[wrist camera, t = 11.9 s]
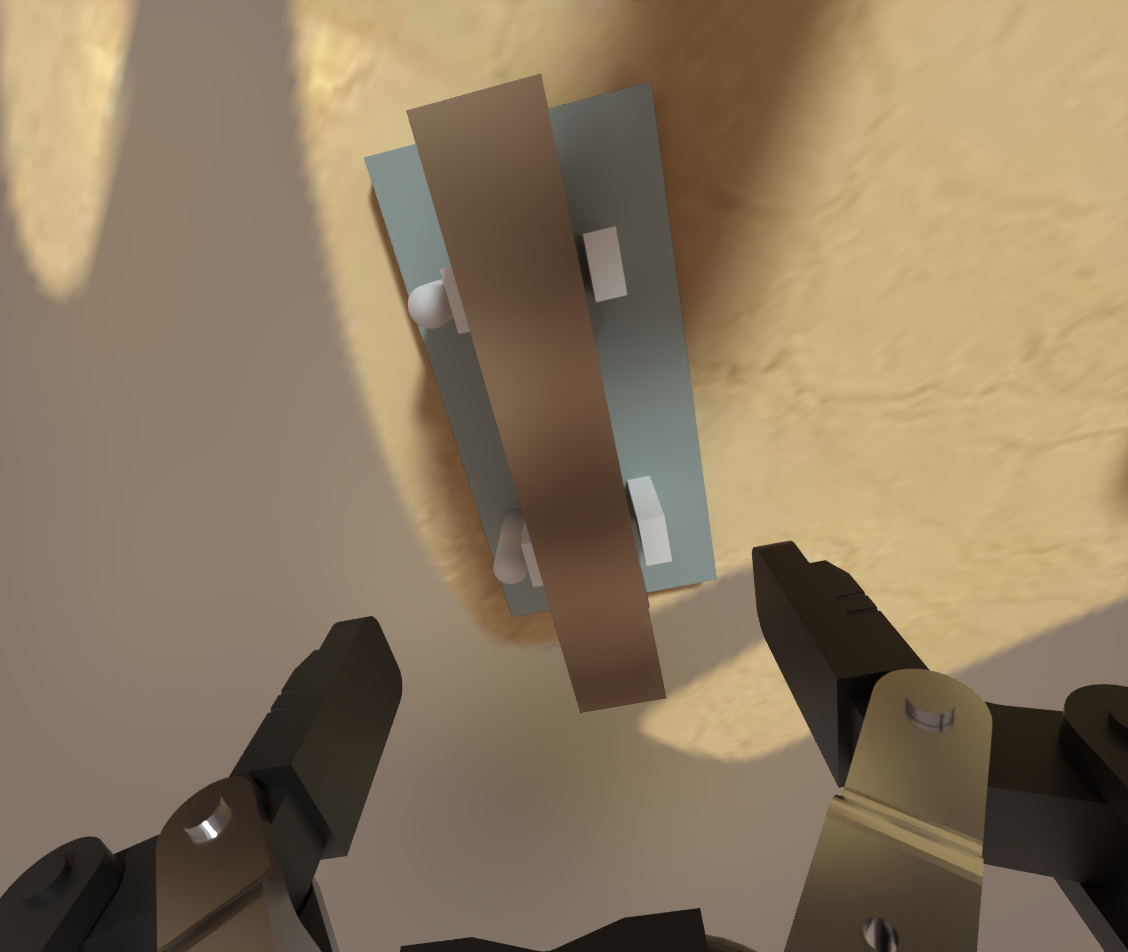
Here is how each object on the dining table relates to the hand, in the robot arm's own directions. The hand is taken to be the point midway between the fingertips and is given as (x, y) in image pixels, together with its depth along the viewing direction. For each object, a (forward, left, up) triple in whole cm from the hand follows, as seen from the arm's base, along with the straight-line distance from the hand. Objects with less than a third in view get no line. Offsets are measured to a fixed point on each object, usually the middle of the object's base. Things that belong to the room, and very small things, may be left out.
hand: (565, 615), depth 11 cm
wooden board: (-1, 0, -17) cm, 17 cm away
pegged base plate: (0, 0, -18) cm, 18 cm away
